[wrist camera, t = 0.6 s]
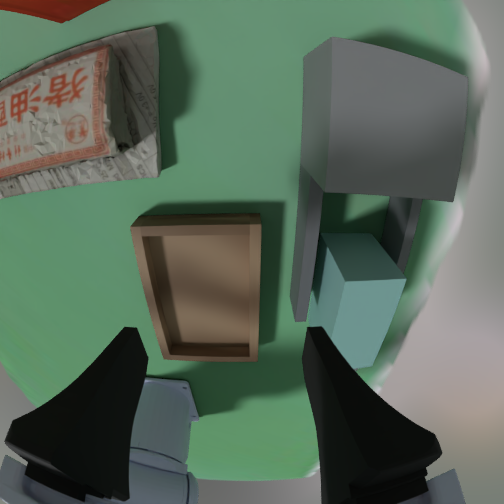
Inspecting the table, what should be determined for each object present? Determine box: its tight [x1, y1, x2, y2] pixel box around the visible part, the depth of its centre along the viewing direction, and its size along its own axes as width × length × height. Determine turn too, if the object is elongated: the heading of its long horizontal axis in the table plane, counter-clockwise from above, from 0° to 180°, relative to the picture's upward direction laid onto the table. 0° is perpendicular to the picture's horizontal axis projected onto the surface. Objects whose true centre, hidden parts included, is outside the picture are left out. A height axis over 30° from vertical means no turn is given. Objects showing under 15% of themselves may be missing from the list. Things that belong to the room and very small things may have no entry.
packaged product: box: [0, 26, 161, 199], centre depth 13 cm, size 18×5×10 cm
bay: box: [290, 37, 468, 322], centre depth 16 cm, size 17×8×6 cm, turn 0°
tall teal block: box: [308, 233, 407, 371], centre depth 20 cm, size 9×4×6 cm, turn 0°
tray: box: [130, 213, 261, 362], centre depth 21 cm, size 13×8×2 cm, turn 0°
